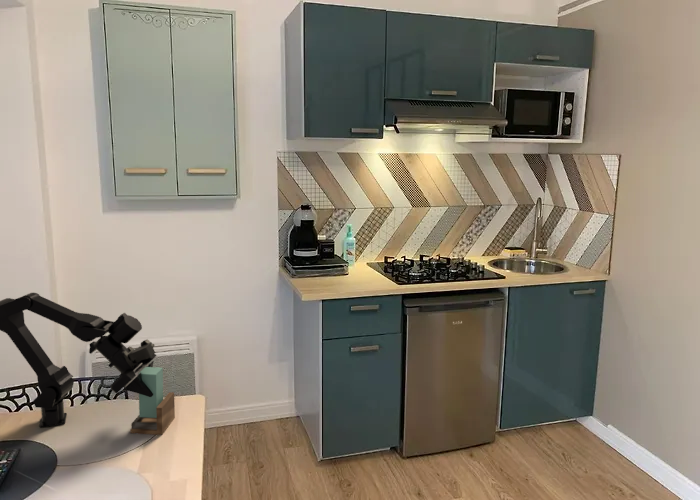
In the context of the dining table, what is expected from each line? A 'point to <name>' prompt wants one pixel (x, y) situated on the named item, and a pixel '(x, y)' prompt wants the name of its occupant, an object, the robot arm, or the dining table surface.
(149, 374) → the teal block
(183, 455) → the dining table surface
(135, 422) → the wall board cradle
